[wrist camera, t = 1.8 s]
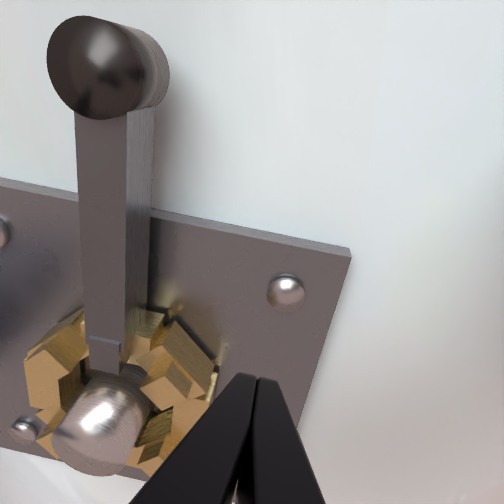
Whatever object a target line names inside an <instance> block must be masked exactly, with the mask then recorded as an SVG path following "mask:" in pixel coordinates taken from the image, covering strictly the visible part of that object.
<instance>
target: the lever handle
mask: <svg viewBox="0 0 504 504" xmlns="http://www.w3.org/2000/svg"><path fill="white" fill-rule="evenodd" d="M47 68H48V73H49V77H50V79H51V82H52V84H53V87H54V89H55V90H56V92H57V94H58V95H59V97H60V98H61V99H62V100H63V102H64V103H65V104H66V105H67V106H68V107H70V108H71V109H72V110H73V111H74V117H75V138H76V158H77V179H78V199H79V220H80V240H81V261H82V281H83V302H84V307H83V308H81V309H80V310H78V311H77V312H75V313H74V314H72V315H71V316H69V317H68V318H66V319H65V320H63V321H62V322H60V323H59V324H57V325H56V326H54V327H52V328H51V329H50V330H49V331H48V332H47V333H46V334H45V335H44V336H43V337H42V338H41V339H40V340H39V341H38V342H37V343H36V344H35V345H34V346H33V347H32V348H31V349H30V350H29V351H28V352H27V354H28V356H27V357H26V358H25V359H24V360H23V362H24V368H25V375H26V382H27V388H28V395H29V402H30V406H31V407H35V408H39V410H38V411H37V413H36V414H35V415H37V416H38V417H39V418H40V419H41V420H42V421H44V422H45V423H46V424H47V426H46V427H45V429H44V430H43V432H42V433H41V434H40V436H39V437H38V438H37V440H36V442H37V443H38V444H39V445H41V446H42V447H43V448H44V449H45V450H47V451H48V452H49V453H50V454H51V455H53V456H54V457H55V458H56V459H58V458H59V457H58V455H57V454H56V453H55V451H54V449H53V447H52V443H51V438H52V434H53V432H54V431H55V429H56V428H57V427H58V425H59V424H60V422H61V421H62V420H63V418H64V417H65V415H66V414H67V412H68V411H69V410H70V408H71V407H72V405H73V404H74V403H75V401H76V400H77V398H78V397H79V395H80V394H81V393H82V391H83V390H84V388H85V387H86V386H85V385H84V384H83V383H82V382H81V379H80V362H79V361H80V360H82V359H83V358H85V357H87V356H89V365H90V369H94V370H99V371H103V372H108V373H112V374H116V375H119V374H120V372H121V371H122V369H123V368H124V366H125V364H126V363H130V364H135V365H139V366H141V367H142V368H143V369H144V370H145V371H146V372H147V373H148V374H147V375H146V377H145V379H144V381H143V383H142V385H141V387H140V390H141V391H142V392H143V393H144V394H145V395H146V396H147V397H148V398H149V399H150V400H151V401H152V402H153V403H154V404H155V405H156V406H157V407H158V408H159V409H160V410H161V411H163V410H165V409H167V408H169V407H171V406H173V408H172V409H170V410H168V411H166V412H164V413H161V414H159V415H157V416H155V417H153V418H147V419H146V421H145V423H144V425H143V427H142V429H141V432H140V434H139V436H138V438H137V440H136V442H135V445H134V447H133V449H132V451H131V453H130V455H129V458H128V460H127V462H126V464H125V465H127V466H131V467H135V468H140V469H142V470H143V471H144V472H145V473H146V474H147V475H148V476H149V477H151V476H152V475H153V474H154V473H155V471H156V470H157V469H158V468H159V467H160V465H161V464H162V463H163V462H164V461H165V459H166V458H167V457H168V456H169V454H170V453H171V452H172V451H173V450H174V448H175V447H176V446H177V445H178V444H179V442H180V441H181V440H182V439H183V438H184V436H185V435H186V434H187V433H188V432H189V430H190V429H191V428H192V427H193V426H194V424H195V423H196V422H197V421H198V419H199V418H200V417H201V416H202V415H203V413H204V412H205V411H206V410H207V409H208V407H209V406H210V405H211V404H212V403H213V399H214V393H215V387H216V381H217V375H218V373H214V372H213V369H214V366H215V364H214V363H213V362H212V361H211V360H210V359H209V358H208V357H207V355H206V354H205V353H204V352H203V351H202V350H201V349H200V348H199V347H198V345H197V344H196V343H195V342H194V341H193V340H192V339H191V338H190V336H189V335H188V334H187V333H186V332H185V331H184V330H183V329H182V327H181V326H180V325H179V324H178V323H177V322H176V321H175V320H174V321H173V322H171V323H169V324H167V325H166V326H164V318H165V314H161V313H157V312H152V311H147V310H146V305H147V282H148V259H149V236H150V213H151V190H152V167H153V144H154V121H155V106H156V105H158V104H159V103H160V102H161V100H162V99H163V98H164V96H165V94H166V92H167V89H168V85H169V78H170V73H169V66H168V62H167V59H166V56H165V54H164V52H163V50H162V48H161V47H160V45H159V44H158V43H157V42H156V41H155V40H154V39H153V38H152V37H151V36H150V35H148V34H147V33H145V32H143V31H141V30H138V29H135V28H131V27H127V26H124V25H120V24H117V23H113V22H109V21H106V20H102V19H98V18H95V17H91V16H75V17H72V18H69V19H67V20H65V21H64V22H62V23H61V24H60V25H59V26H58V27H57V28H56V29H55V31H54V32H53V34H52V36H51V38H50V41H49V43H48V48H47Z"/></svg>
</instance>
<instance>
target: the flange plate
mask: <svg viewBox="0 0 504 504" xmlns="http://www.w3.org/2000/svg"><path fill="white" fill-rule="evenodd" d="M350 261H351V254H350V250H349V248H345V247H340V246H335V245H330V244H325V243H320V242H315V241H310V240H305V239H300V238H296V237H291V236H286V235H281V234H276V233H271V232H266V231H261V230H256V229H251V228H246V227H241V226H237V225H232V224H227V223H222V222H217V221H212V220H207V219H202V218H197V217H192V216H187V215H182V214H177V213H173V212H168V211H163V210H158V209H153V208H151V213H150V236H149V259H148V282H147V305H146V310H147V311H152V312H157V313H161V314H165V318H164V326H166V325H167V324H169V323H171V322H173V321H174V320H175V321H176V322H177V323H178V324H179V325H180V326H181V327H182V329H183V330H184V331H185V332H186V333H187V334H188V335H189V336H190V338H191V339H192V340H193V341H194V342H195V343H196V344H197V345H198V347H199V348H200V349H201V350H202V351H203V352H204V353H205V354H206V355H207V357H208V358H209V359H210V360H211V361H212V362H213V363H214V364H215V366H214V369H213V372H214V373H218V375H217V381H216V387H215V393H214V399H213V401H214V400H215V399H216V398H217V397H218V395H219V394H220V393H221V392H222V391H223V389H224V388H225V387H226V386H227V384H228V383H229V382H230V381H231V380H232V378H233V377H234V376H235V375H236V374H237V373H239V372H242V373H247V374H251V375H255V376H256V377H257V380H258V378H259V377H265V378H269V379H274V380H277V381H278V382H279V384H280V387H281V389H282V392H283V394H284V397H285V400H286V402H287V405H288V407H289V410H290V413H291V415H292V418H293V420H294V423H295V426H296V428H297V426H298V423H299V419H300V416H301V413H302V410H303V407H304V404H305V401H306V398H307V395H308V391H309V388H310V385H311V382H312V379H313V376H314V373H315V370H316V367H317V363H318V360H319V357H320V354H321V351H322V348H323V345H324V342H325V339H326V335H327V332H328V329H329V326H330V323H331V320H332V317H333V314H334V311H335V307H336V304H337V301H338V298H339V295H340V292H341V289H342V286H343V283H344V280H345V276H346V273H347V270H348V267H349V264H350ZM83 307H84V302H83V281H82V261H81V240H80V220H79V199H78V193H74V192H69V191H64V190H59V189H54V188H50V187H45V186H40V185H35V184H30V183H25V182H20V181H15V180H10V179H5V178H0V447H3V448H7V449H11V450H15V451H20V452H24V453H28V454H32V455H36V456H41V457H45V458H49V459H53V460H58V461H62V462H65V463H66V464H67V465H69V466H70V467H72V468H74V469H75V470H78V471H80V472H82V473H85V474H89V475H93V476H110V475H114V474H117V475H121V476H125V477H129V478H134V479H138V480H142V481H146V482H147V481H148V480H149V479H150V477H149V476H148V475H147V474H146V473H145V472H144V471H143V470H142V469H140V468H135V467H131V466H127V465H125V464H126V462H127V460H128V458H129V455H130V453H131V451H132V449H133V447H134V445H135V442H136V440H137V438H138V436H139V434H140V432H141V429H142V427H143V425H144V423H145V421H146V419H147V418H153V417H155V416H157V415H159V414H161V413H164V412H166V411H168V410H170V409H172V408H173V406H171V407H169V408H167V409H165V410H163V411H161V410H160V409H159V408H158V407H157V406H156V405H155V404H154V403H153V402H152V401H151V400H150V399H149V398H148V397H147V396H146V395H145V394H144V393H143V392H142V391H141V390H140V387H141V385H142V383H143V381H144V379H145V377H146V375H147V374H148V373H147V372H146V371H145V370H144V369H143V368H142V367H141V366H139V365H135V364H130V363H126V364H125V366H124V368H123V369H122V371H121V372H120V374H119V375H116V374H112V373H108V372H103V371H99V370H94V369H90V365H89V356H87V357H85V358H83V359H82V360H80V361H79V362H80V379H81V382H82V383H83V384H84V385H85V386H86V387H85V388H84V390H83V391H82V393H81V394H80V395H79V397H78V398H77V400H76V401H75V403H74V404H73V405H72V407H71V408H70V410H69V411H68V412H67V414H66V415H65V417H64V418H63V420H62V421H61V422H60V424H59V425H58V427H57V428H56V429H55V431H54V432H53V434H52V438H51V443H52V447H53V449H54V451H55V453H56V454H57V455H58V457H59V458H58V459H56V458H55V457H54V456H53V455H51V454H50V453H49V452H48V451H47V450H45V449H44V448H43V447H42V446H41V445H39V444H38V443H37V442H36V440H37V438H38V437H39V436H40V434H41V433H42V432H43V430H44V429H45V427H46V426H47V424H46V423H45V422H44V421H42V420H41V419H40V418H39V417H38V416H37V415H35V414H36V413H37V411H38V410H39V408H35V407H31V406H30V402H29V395H28V388H27V382H26V375H25V368H24V362H23V360H24V359H25V358H26V357H27V356H28V354H27V352H28V351H29V350H30V349H31V348H32V347H33V346H34V345H35V344H36V343H37V342H38V341H39V340H40V339H41V338H42V337H43V336H44V335H45V334H46V333H47V332H48V331H49V330H50V329H51V328H52V327H54V326H56V325H57V324H59V323H60V322H62V321H63V320H65V319H66V318H68V317H69V316H71V315H72V314H74V313H75V312H77V311H78V310H80V309H81V308H83ZM236 488H237V485H236ZM235 495H236V489H235V493H234V497H233V501H232V502H235Z"/></svg>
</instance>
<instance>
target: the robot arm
mask: <svg viewBox="0 0 504 504" xmlns="http://www.w3.org/2000/svg"><path fill="white" fill-rule="evenodd" d="M236 485H237V488H236ZM235 489H236V495H235V504H326V503H325V501H324V498H323V495H322V493H321V490H320V488H319V485H318V483H317V480H316V477H315V475H314V472H313V470H312V467H311V464H310V462H309V459H308V457H307V454H306V451H305V449H304V446H303V444H302V441H301V438H300V436H299V433H298V431H297V428H296V426H295V423H294V420H293V418H292V415H291V413H290V410H289V407H288V405H287V402H286V400H285V397H284V394H283V392H282V389H281V387H280V384H279V382H278V381H277V380H274V379H269V378H265V377H259V378H258V380H257V377H256V376H255V375H251V374H247V373H242V372H239V373H237V374H236V375H235V376H234V377H233V378H232V380H231V381H230V382H229V383H228V384H227V386H226V387H225V388H224V389H223V391H222V392H221V393H220V394H219V395H218V397H217V398H216V399H215V400H214V401H213V403H212V404H211V405H210V406H209V407H208V409H207V410H206V411H205V412H204V413H203V415H202V416H201V417H200V418H199V419H198V421H197V422H196V423H195V424H194V426H193V427H192V428H191V429H190V430H189V432H188V433H187V434H186V435H185V436H184V438H183V439H182V440H181V441H180V442H179V444H178V445H177V446H176V447H175V448H174V450H173V451H172V452H171V453H170V454H169V456H168V457H167V458H166V459H165V461H164V462H163V463H162V464H161V465H160V467H159V468H158V469H157V470H156V471H155V473H154V474H153V475H152V476H151V477H150V479H149V480H148V481H147V482H146V483H145V485H144V486H143V487H142V488H141V490H140V491H139V492H138V493H137V494H136V496H135V497H134V498H133V499H132V500H131V502H130V503H129V504H232V501H233V497H234V493H235Z"/></svg>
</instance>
